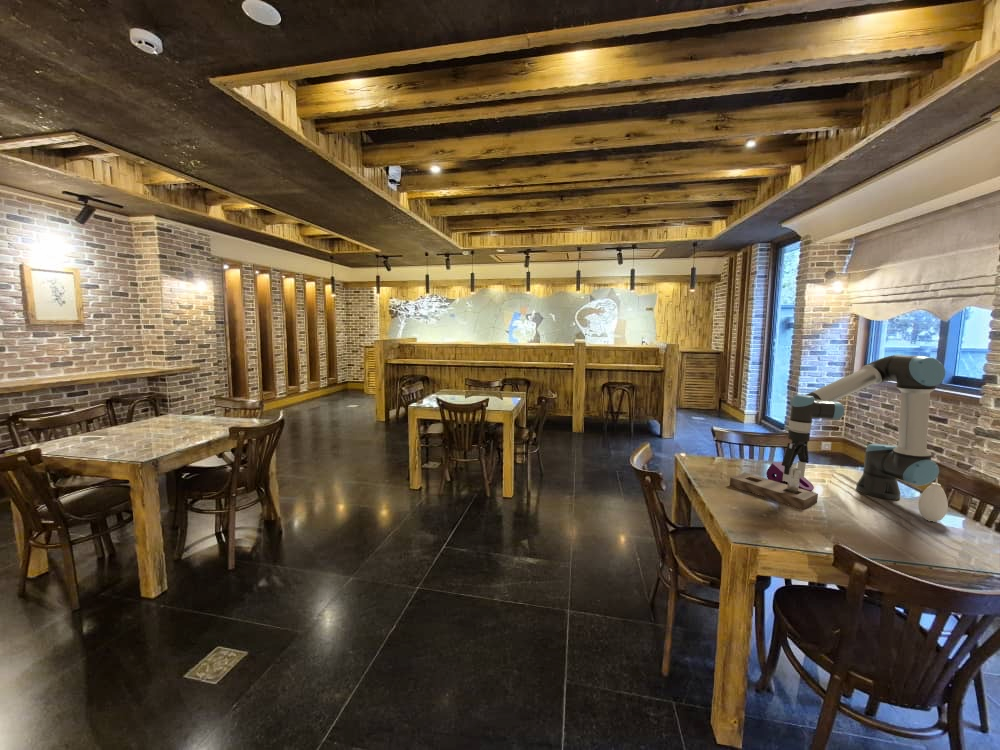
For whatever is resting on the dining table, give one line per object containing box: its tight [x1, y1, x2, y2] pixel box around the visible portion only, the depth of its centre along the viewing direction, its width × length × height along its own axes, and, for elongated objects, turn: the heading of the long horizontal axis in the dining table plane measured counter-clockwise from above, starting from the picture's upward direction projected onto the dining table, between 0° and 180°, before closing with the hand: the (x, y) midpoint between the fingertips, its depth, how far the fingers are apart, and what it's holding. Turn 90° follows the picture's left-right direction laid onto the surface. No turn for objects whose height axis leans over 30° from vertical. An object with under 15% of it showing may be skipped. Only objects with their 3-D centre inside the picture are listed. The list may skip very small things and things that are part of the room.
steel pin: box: [786, 467, 801, 495], centre depth 179 cm, size 4×4×14 cm
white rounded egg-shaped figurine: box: [918, 477, 949, 523], centre depth 162 cm, size 8×8×18 cm
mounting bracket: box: [765, 461, 815, 492], centre depth 198 cm, size 9×8×18 cm
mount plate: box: [729, 472, 819, 510], centre depth 186 cm, size 30×14×4 cm, turn 34°
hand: (793, 479), depth 179 cm, fingers open, 13 cm apart
